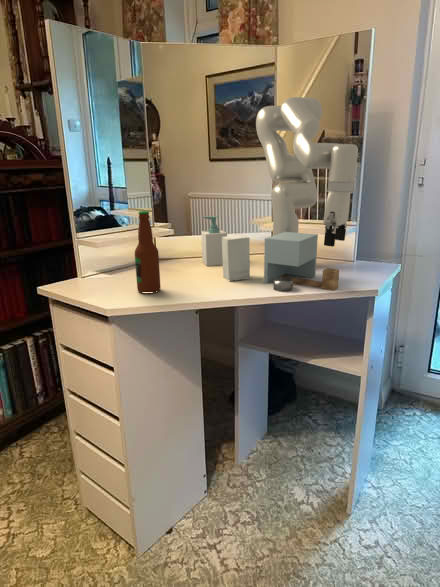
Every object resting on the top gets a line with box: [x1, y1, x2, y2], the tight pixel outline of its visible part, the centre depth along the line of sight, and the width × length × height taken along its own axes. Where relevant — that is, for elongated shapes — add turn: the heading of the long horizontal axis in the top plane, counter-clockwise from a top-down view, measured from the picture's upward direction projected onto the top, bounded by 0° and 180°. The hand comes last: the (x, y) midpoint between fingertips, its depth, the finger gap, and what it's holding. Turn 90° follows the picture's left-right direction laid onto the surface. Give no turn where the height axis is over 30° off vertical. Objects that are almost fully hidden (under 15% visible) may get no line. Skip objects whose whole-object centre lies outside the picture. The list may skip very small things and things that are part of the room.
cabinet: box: [263, 232, 319, 284], centre depth 137 cm, size 12×16×15 cm
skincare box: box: [222, 234, 251, 281], centre depth 140 cm, size 8×6×15 cm
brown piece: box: [279, 267, 340, 292], centre depth 132 cm, size 19×4×6 cm, turn 57°
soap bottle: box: [201, 215, 228, 267], centre depth 163 cm, size 9×9×19 cm
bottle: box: [134, 210, 162, 293], centre depth 126 cm, size 7×7×25 cm
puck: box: [272, 277, 294, 293], centre depth 129 cm, size 6×6×3 cm
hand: (334, 242), depth 129 cm, fingers open, 9 cm apart
